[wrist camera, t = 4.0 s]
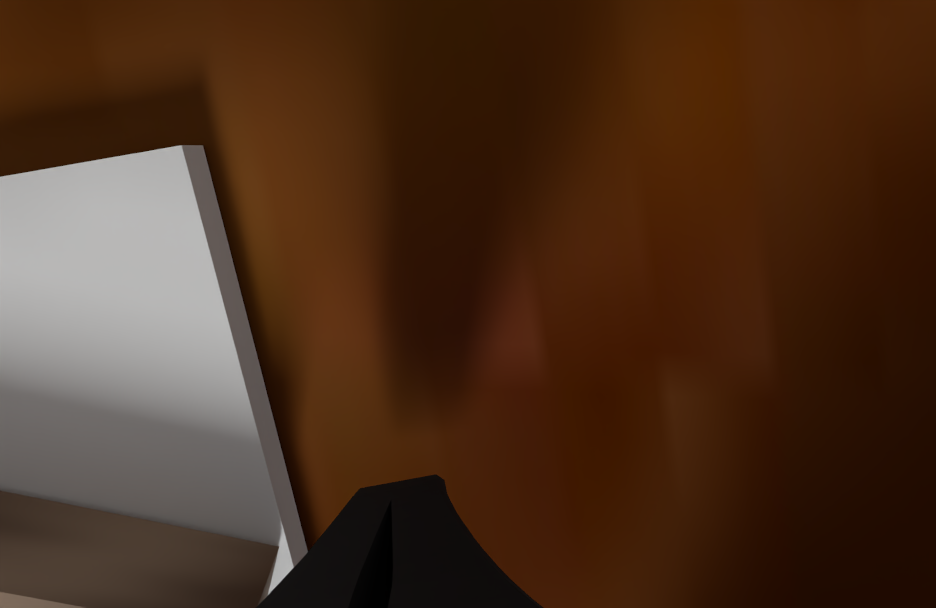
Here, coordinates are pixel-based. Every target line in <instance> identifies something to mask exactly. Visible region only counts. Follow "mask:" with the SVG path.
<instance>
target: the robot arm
mask: <svg viewBox="0 0 936 608" xmlns="http://www.w3.org/2000/svg"><path fill="white" fill-rule="evenodd" d="M256 608H543V607H542V606H540V605H539V604H538V603H537V602H536V601H534V600H533V599H532V598H531V597H529V596H528V595H527V594H526V593H525V592H524V591H523V590H522V589H521V588H519V587H518V586H517V585H516V584H515V583H514V582H513V581H512V580H511V579H510V578H509V577H508V576H507V575H506V574H505V573H504V572H503V571H502V570H501V569H500V568H499V567H498V566H497V565H496V564H495V562H494V561H493V560H492V559H491V558H490V557H489V556H488V554H487V553H486V552H485V551H484V550H483V549H482V547H481V546H480V545H479V544H478V542H477V541H476V540H475V539H474V537H473V536H472V534H471V533H470V531H469V530H468V529H467V527H466V526H465V524H464V523H463V522H462V520H461V519H460V517H459V515H458V514H457V512H456V510H455V509H454V507H453V505H452V503H451V501H450V499H449V497H448V495H447V491H446V486H445V481H444V480H443V479H442V478H441V477H439V476H438V475H431V476H425V477H420V478H414V479H409V480H403V481H398V482H393V483H387V484H382V485H376V486H371V487H365V488H360V489H359V490H358V491H357V492H356V493H355V495H354V496H353V497H352V498H351V500H350V501H349V502H348V503H347V505H346V506H345V507H344V508H343V510H342V511H341V512H340V513H339V515H338V516H337V517H336V518H335V520H334V521H333V522H332V523H331V525H330V526H329V527H328V528H327V530H326V531H325V532H324V533H323V534H322V536H321V537H320V538H319V539H318V540H317V542H316V543H315V544H314V545H313V546H312V548H311V549H310V550H309V551H308V552H307V554H306V555H305V556H304V557H303V558H302V559H301V560H300V561H299V562H298V564H297V565H296V566H295V567H294V568H293V569H292V570H291V571H290V572H289V573H288V574H287V575H286V576H285V577H284V579H283V580H282V581H281V582H280V583H279V584H278V585H277V586H276V587H275V588H274V589H273V590H272V591H271V592H270V594H269V595H268V596H267V597H266V598H265V599H264V600H263V601H262V602H261V603H260V604H259V605H258V606H257V607H256Z"/></svg>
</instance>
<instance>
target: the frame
mask: <svg viewBox="0 0 936 608" xmlns="http://www.w3.org/2000/svg"><path fill="white" fill-rule="evenodd" d="M278 550H279V546H274V545H269V544H264V543H259V542H254V541H249V540H244V539H239V538H234V537H229V536H224V535H219V534H214V533H209V532H204V531H199V530H194V529H189V528H184V527H179V526H174V525H169V524H165V523H160V522H155V521H150V520H145V519H140V518H135V517H130V516H125V515H120V514H115V513H110V512H105V511H100V510H95V509H90V508H85V507H80V506H75V505H70V504H65V503H60V502H55V501H50V500H45V499H40V498H35V497H30V496H25V495H20V494H15V493H10V492H5V491H0V608H256V607H257V606H258V605H259V604H260V603H261V602H262V601H263V600H264V599H265V598H266V597H267V596H268V592H269V588H270V584H271V580H272V576H273V571H274V567H275V563H276V559H277V554H278Z"/></svg>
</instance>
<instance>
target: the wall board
mask: <svg viewBox="0 0 936 608" xmlns="http://www.w3.org/2000/svg"><path fill="white" fill-rule="evenodd" d="M0 491H5V492H10V493H15V494H20V495H25V496H30V497H35V498H40V499H45V500H50V501H55V502H60V503H65V504H70V505H75V506H80V507H85V508H90V509H95V510H100V511H105V512H110V513H115V514H120V515H125V516H130V517H135V518H140V519H145V520H150V521H155V522H160V523H165V524H169V525H174V526H179V527H184V528H189V529H194V530H199V531H204V532H209V533H214V534H219V535H224V536H229V537H234V538H239V539H244V540H249V541H254V542H259V543H264V544H269V545H274V546H279V550H278V554H277V559H276V563H275V567H274V571H273V576H272V580H271V584H270V588H269V592H268V595H269V594H270V592H271V591H272V590H273V589H274V588H275V587H276V586H277V585H278V584H279V583H280V582H281V581H282V580H283V579H284V577H285V576H286V575H287V574H288V573H289V572H290V571H291V570H292V569H293V568H294V567H295V566H296V565H297V564H298V562H299V561H300V560H301V559H302V558H303V557H304V556H305V555H306V554H307V552H308V550H307V547H306V543H305V539H304V535H303V531H302V527H301V523H300V519H299V516H298V512H297V508H296V504H295V500H294V496H293V492H292V488H291V485H290V481H289V477H288V473H287V469H286V465H285V461H284V457H283V454H282V450H281V446H280V442H279V438H278V434H277V430H276V427H275V423H274V419H273V415H272V411H271V407H270V403H269V399H268V396H267V392H266V388H265V384H264V380H263V376H262V372H261V368H260V365H259V361H258V357H257V353H256V349H255V345H254V341H253V337H252V334H251V330H250V326H249V322H248V318H247V314H246V310H245V306H244V303H243V299H242V295H241V291H240V287H239V283H238V279H237V275H236V272H235V268H234V264H233V260H232V256H231V252H230V248H229V245H228V241H227V237H226V233H225V229H224V225H223V221H222V217H221V214H220V210H219V206H218V202H217V198H216V194H215V190H214V186H213V183H212V179H211V175H210V171H209V167H208V163H207V159H206V155H205V152H204V148H203V145H180V146H174V147H168V148H163V149H157V150H151V151H146V152H140V153H134V154H128V155H123V156H117V157H111V158H105V159H100V160H94V161H88V162H82V163H77V164H71V165H65V166H60V167H54V168H48V169H42V170H37V171H31V172H25V173H19V174H14V175H8V176H2V177H0Z"/></svg>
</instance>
